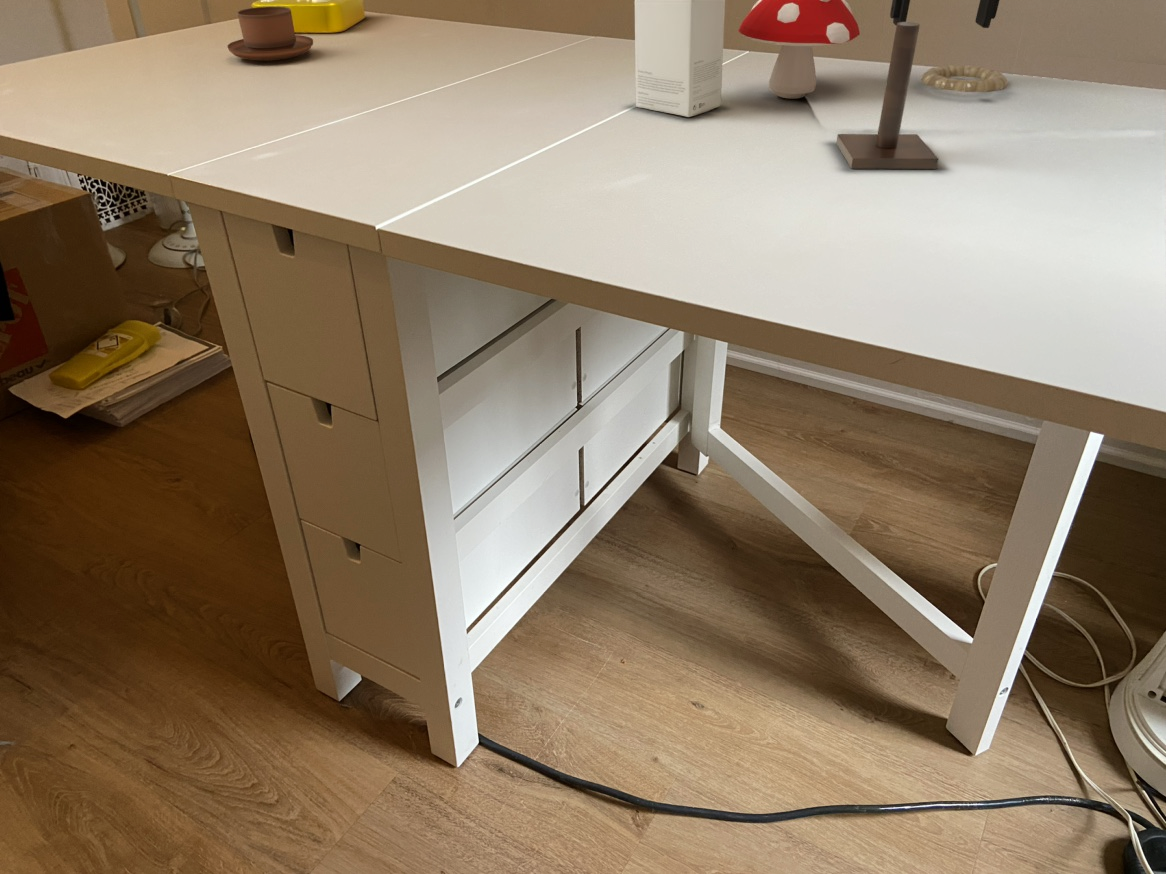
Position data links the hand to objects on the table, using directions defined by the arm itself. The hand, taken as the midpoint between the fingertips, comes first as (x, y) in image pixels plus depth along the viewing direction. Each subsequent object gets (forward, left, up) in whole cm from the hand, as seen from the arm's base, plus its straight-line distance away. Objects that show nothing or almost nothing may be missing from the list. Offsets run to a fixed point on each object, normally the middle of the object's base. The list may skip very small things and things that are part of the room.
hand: (940, 25), depth 103 cm
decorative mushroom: (+17, +3, -7) cm, 19 cm away
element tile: (+91, -45, -7) cm, 102 cm away
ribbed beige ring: (-4, 0, -6) cm, 7 cm away
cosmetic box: (+31, +8, -7) cm, 33 cm away
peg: (+11, +26, -7) cm, 29 cm away
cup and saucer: (+89, -20, -7) cm, 91 cm away
